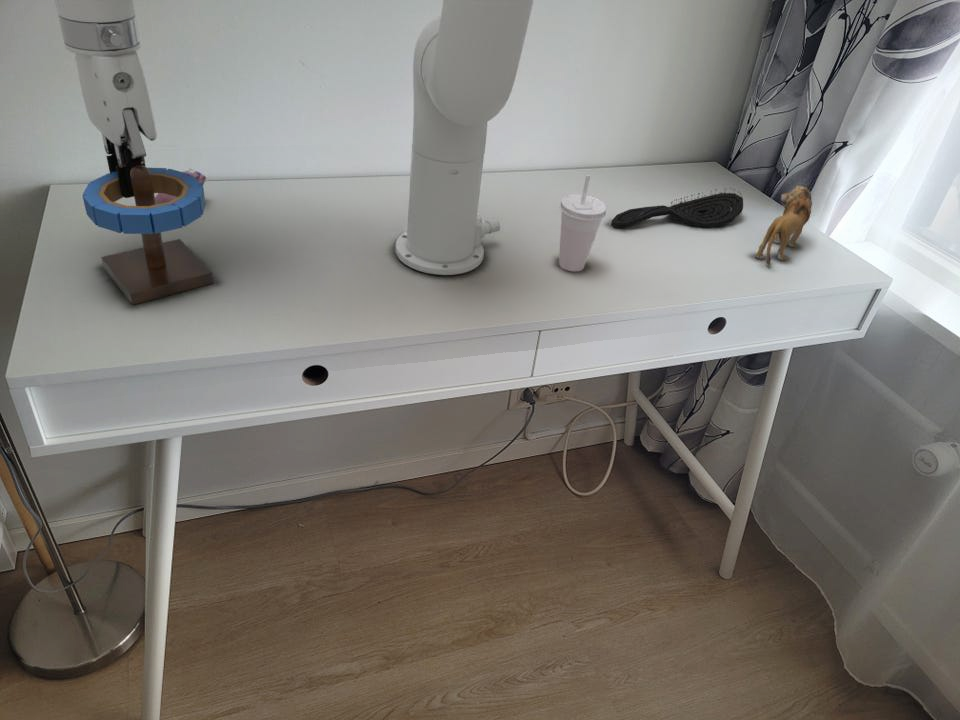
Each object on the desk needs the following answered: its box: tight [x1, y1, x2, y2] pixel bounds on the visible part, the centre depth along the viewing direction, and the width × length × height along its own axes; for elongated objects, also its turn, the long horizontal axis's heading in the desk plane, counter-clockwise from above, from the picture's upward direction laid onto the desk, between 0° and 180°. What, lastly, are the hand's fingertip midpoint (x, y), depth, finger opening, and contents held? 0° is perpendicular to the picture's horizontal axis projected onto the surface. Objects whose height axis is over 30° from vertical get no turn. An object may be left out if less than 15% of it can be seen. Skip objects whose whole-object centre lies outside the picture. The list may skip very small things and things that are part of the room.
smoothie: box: [558, 174, 607, 272], centre depth 104 cm, size 6×6×14 cm
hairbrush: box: [610, 187, 744, 229], centre depth 123 cm, size 8×4×25 cm
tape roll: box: [82, 167, 206, 235], centre depth 88 cm, size 13×13×2 cm
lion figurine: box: [754, 185, 813, 265], centre depth 117 cm, size 15×5×9 cm, turn 151°
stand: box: [101, 165, 214, 306], centre depth 90 cm, size 10×10×15 cm
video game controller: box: [155, 167, 207, 205], centre depth 107 cm, size 10×5×7 cm, turn 168°
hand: (131, 188), depth 92 cm, fingers closed on tape roll, 2 cm apart
